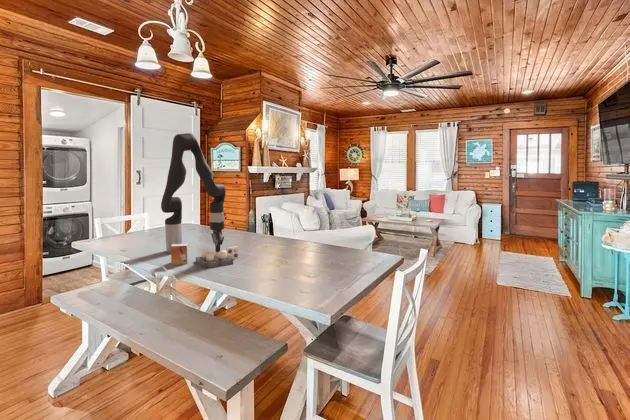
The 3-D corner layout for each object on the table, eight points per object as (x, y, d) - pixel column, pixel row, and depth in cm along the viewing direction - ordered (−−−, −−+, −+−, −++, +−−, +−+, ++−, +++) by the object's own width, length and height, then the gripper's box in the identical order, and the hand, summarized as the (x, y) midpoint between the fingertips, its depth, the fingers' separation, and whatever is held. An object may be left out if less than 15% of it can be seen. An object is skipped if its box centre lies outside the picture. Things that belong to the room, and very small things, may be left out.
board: (195, 262, 184) (195, 257, 184) (222, 258, 193) (222, 253, 193) (205, 269, 172) (205, 263, 172) (233, 264, 181) (233, 259, 181)
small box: (171, 266, 178) (170, 246, 176) (172, 263, 183) (171, 243, 182) (187, 265, 180) (186, 245, 179) (188, 262, 185) (187, 243, 184)
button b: (218, 259, 182) (218, 251, 181) (225, 257, 184) (224, 250, 184) (221, 260, 179) (220, 252, 178) (227, 259, 181) (227, 251, 181)
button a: (205, 261, 178) (205, 252, 177) (212, 259, 180) (212, 251, 179) (207, 262, 175) (207, 254, 174) (215, 261, 177) (214, 253, 176)
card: (225, 259, 191) (224, 247, 190) (236, 257, 195) (236, 245, 195) (227, 260, 189) (227, 248, 188) (239, 258, 193) (238, 246, 192)
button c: (200, 258, 183) (200, 250, 183) (207, 257, 186) (207, 249, 185) (203, 259, 180) (202, 251, 180) (210, 258, 182) (210, 250, 182)
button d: (213, 259, 188) (213, 251, 187) (220, 258, 190) (220, 250, 189) (216, 260, 185) (215, 252, 184) (222, 259, 187) (222, 251, 186)
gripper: (206, 219, 187) (207, 250, 189) (214, 222, 177) (215, 255, 179) (219, 218, 192) (220, 248, 194) (228, 221, 181) (229, 253, 183)
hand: (217, 251), depth 186 cm, fingers closed
